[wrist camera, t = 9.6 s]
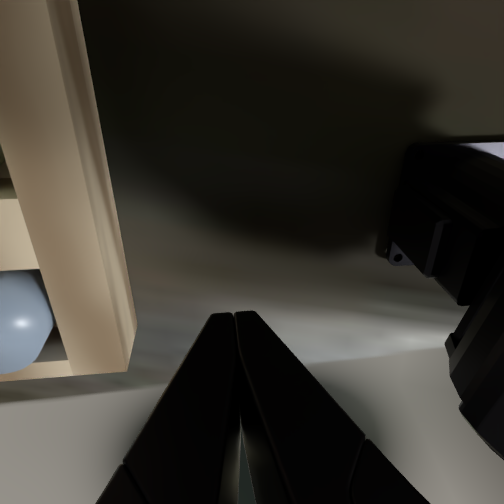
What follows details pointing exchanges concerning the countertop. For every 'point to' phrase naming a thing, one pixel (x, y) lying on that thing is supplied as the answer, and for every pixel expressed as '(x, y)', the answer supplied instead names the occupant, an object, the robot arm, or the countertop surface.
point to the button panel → (60, 191)
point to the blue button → (23, 318)
